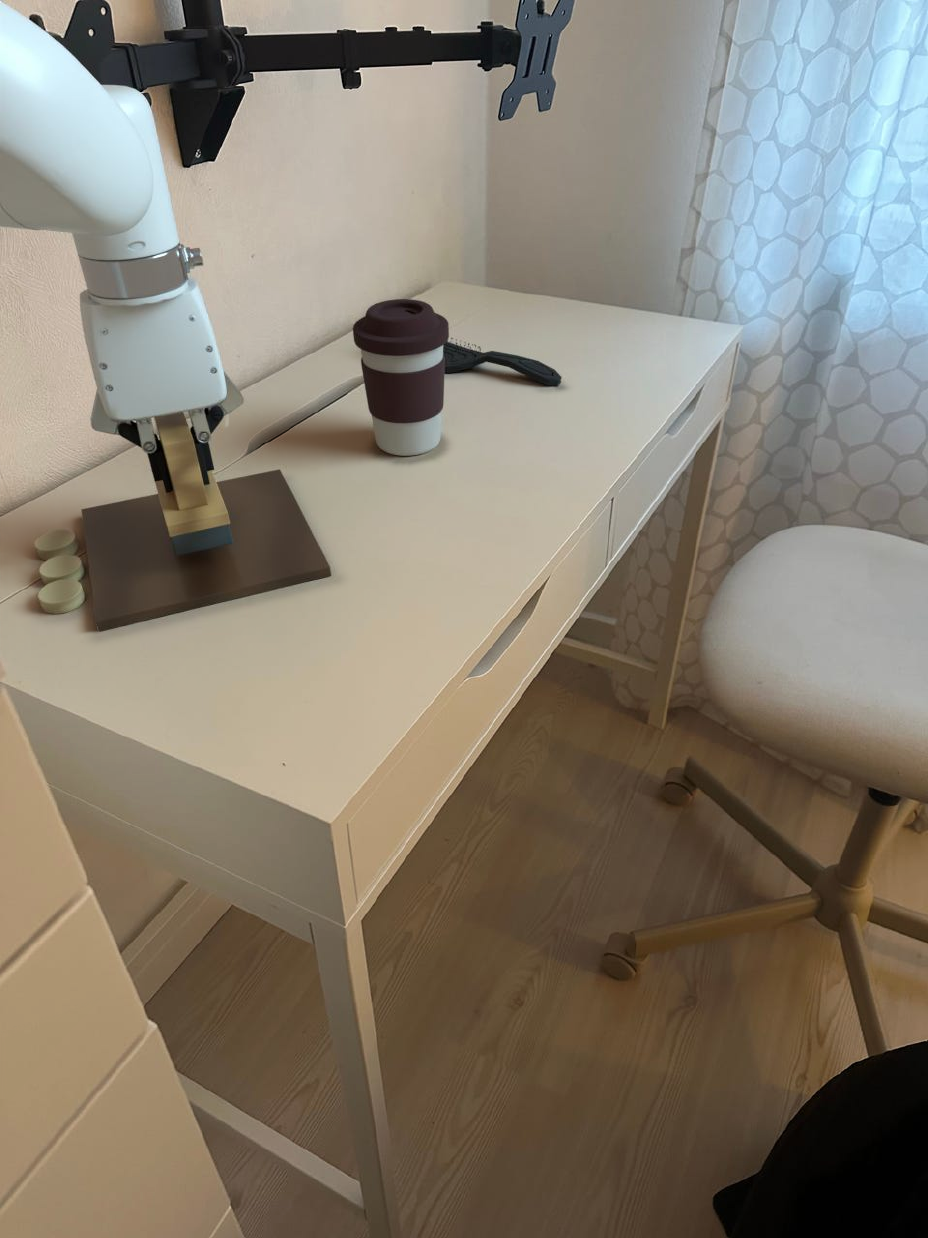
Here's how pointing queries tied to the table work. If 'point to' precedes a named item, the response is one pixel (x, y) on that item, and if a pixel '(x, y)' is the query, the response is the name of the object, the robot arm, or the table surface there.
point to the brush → (189, 492)
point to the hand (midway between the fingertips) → (185, 480)
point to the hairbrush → (497, 362)
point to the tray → (197, 553)
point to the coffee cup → (403, 373)
